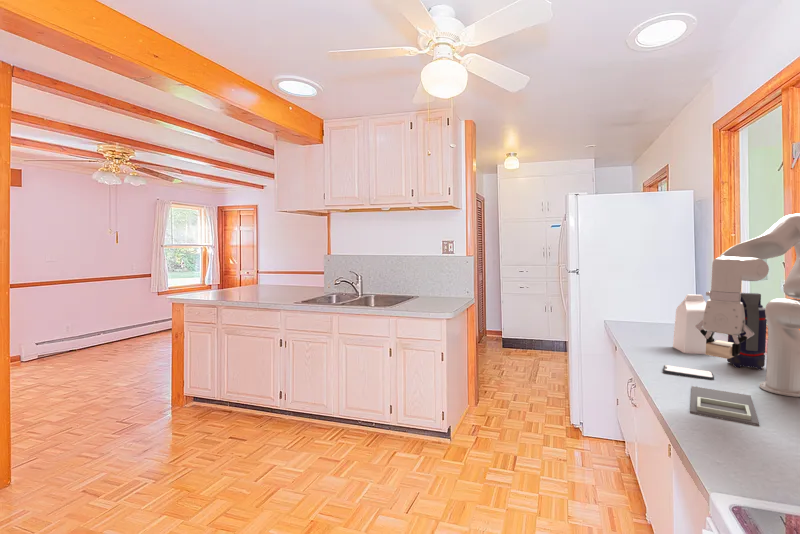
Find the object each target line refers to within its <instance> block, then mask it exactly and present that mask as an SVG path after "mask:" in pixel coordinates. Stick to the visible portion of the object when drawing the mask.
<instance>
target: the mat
mask: <svg viewBox="0 0 800 534" xmlns="http://www.w3.org/2000/svg"><path fill="white" fill-rule="evenodd" d="M697 397H703V398H709V399H715V400H721V401H726V402H732V403H738V404H744V405H748V406H749V410H750V413H751V420H747V419H742V418H737V417H731V416H726V415H720V414H715V413H709V412H704V411H698V410H697ZM700 406H703V407H708V408H714V409H720V410H725V411H731V412H736V413H742V414H746V412H745V409H740V408H734V407H729V406H723V405H717V404H711V403H706V402H701V404H700ZM756 411H757V410H756V408H755V405H754V401H753V399H752V395H750V394H744V393H739V392H738V393H737V392H731V391H726V390H725V391H724V390H719V389H713V388H706V387H698V386H693V385H692V386H691V394H690V408H689V412H690V414H695V415H699V414H701V415H700V416H704V415H706V417H710V416H712V417H711V418H715V417H718V418H717V419H720V418H723V419H722V420H726V419H728V420H727V421H731V420H732V422H736V421H737V422H738V423H742V424H746V425H747V424H748V425H753V426H758V427H759V426H760V421H759V418H758V415H757V412H756Z"/></svg>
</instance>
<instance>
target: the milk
mask: <svg viewBox="0 0 800 534" xmlns="http://www.w3.org/2000/svg"><path fill="white" fill-rule="evenodd" d="M706 303H707V301H706V300H705V299H704V296H703V294H686V296H685V298H684V300H683V301H682V302H681V303H679V304H678V306H677V307H676V309H675V318H674V319H675V320H674V330H673V341H672V348H673V349H675V350H678V351H679V352H682V353H683V354H696V355H697V354H701V355H706V338H705V336H704V335H703V334H702V333H701V332H700V331H699V330H698V329H697V328H696V325H697V324H698V323H700V322H701V321H702V320H703V318H704V312H705V307H706Z"/></svg>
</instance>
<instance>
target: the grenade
mask: <svg viewBox="0 0 800 534" xmlns="http://www.w3.org/2000/svg"><path fill="white" fill-rule="evenodd" d="M740 302H742V303H743V306H744V312H745V324H746V325H747V326H748V327H749V328H750V329H751V330H752V331H753V332H754V335H753V336H752V337H750V338H748V339H747V340H745V341H743V342H742V343H741V347H740V354H739V355H737V356H734V357H732V358H729V359H726V361H727V362H728V364H731V365H733V367H734V368H738V369H740V368H741V367H746V368H753V369H754V368H756V370H758V371H759V369H761V370H762V369H763V368H764V367H765V361H766V345H767V343H766V341H767V320H766V315H765V308H766V307H764V305H762V294H761V293H758V292H741V299H740ZM745 334H746V332H745V331H744V333H740V336H741V337H742V336H744V335H745ZM727 342H732V343H734V339H733V337H732V335H730V334H727Z"/></svg>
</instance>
